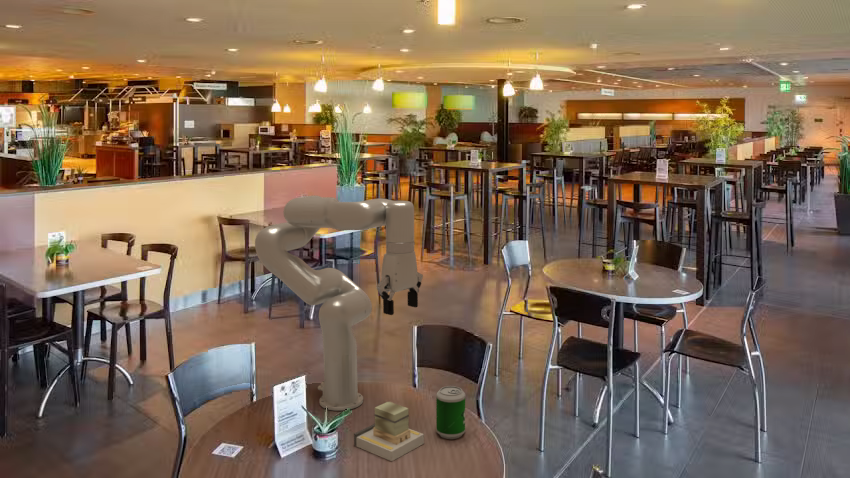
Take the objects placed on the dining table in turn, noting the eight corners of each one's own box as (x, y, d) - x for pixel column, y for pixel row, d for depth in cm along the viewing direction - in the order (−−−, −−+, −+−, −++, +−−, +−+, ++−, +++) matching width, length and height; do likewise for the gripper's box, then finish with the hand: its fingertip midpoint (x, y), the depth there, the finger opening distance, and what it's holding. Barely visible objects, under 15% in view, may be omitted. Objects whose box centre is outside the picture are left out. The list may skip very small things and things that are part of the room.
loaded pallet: (373, 435, 169) (372, 407, 167) (387, 428, 172) (386, 400, 171) (396, 444, 164) (396, 415, 162) (410, 437, 167) (410, 409, 166)
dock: (354, 445, 168) (353, 433, 168) (386, 429, 178) (386, 417, 177) (391, 461, 160) (391, 448, 160) (423, 443, 170) (423, 431, 169)
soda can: (463, 441, 170) (463, 397, 168) (433, 439, 172) (433, 394, 170) (467, 428, 178) (467, 385, 176) (439, 426, 179) (439, 383, 177)
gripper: (410, 241, 187) (411, 301, 189) (367, 250, 173) (368, 314, 176) (431, 244, 182) (431, 306, 185) (388, 254, 169) (389, 319, 172)
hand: (400, 310), depth 180 cm, fingers open, 9 cm apart
